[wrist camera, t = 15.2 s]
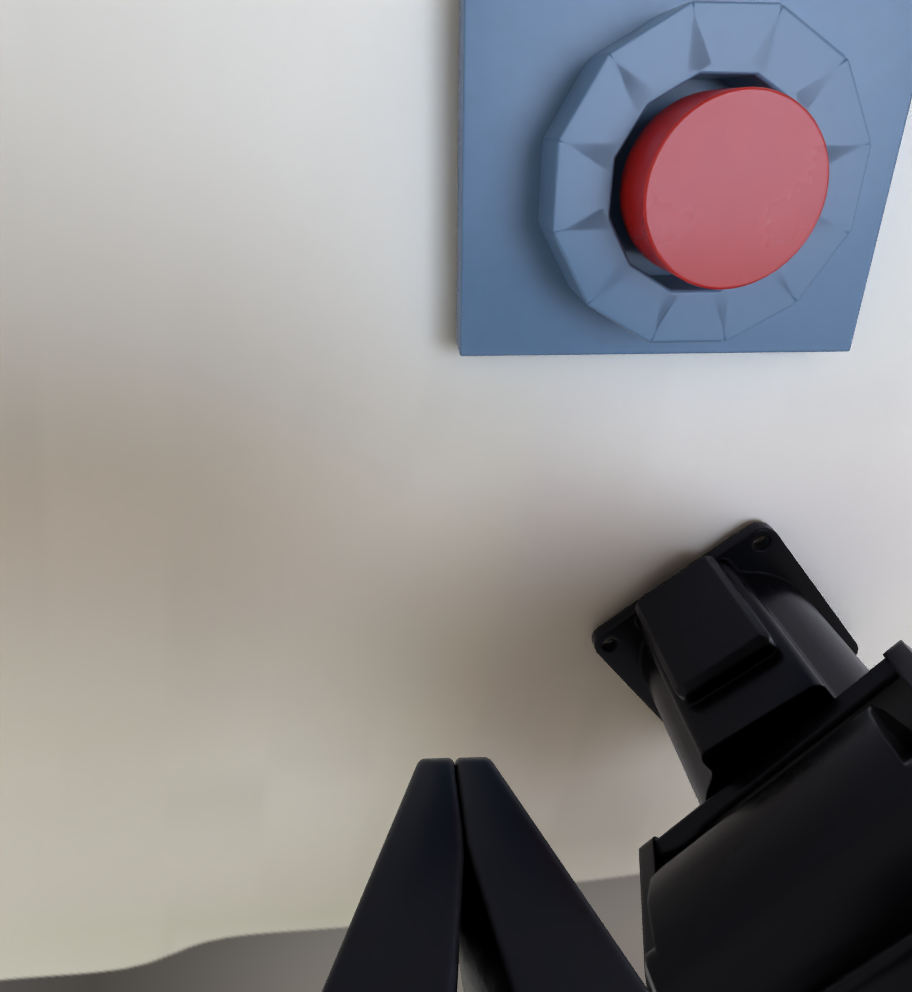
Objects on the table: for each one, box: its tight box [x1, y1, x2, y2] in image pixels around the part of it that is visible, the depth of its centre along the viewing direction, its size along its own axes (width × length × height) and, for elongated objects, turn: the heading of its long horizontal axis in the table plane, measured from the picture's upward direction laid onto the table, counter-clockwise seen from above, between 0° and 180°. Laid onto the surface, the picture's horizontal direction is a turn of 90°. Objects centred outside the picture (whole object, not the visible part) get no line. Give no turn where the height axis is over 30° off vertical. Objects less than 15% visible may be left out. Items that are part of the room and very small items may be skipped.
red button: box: [620, 86, 829, 290], centre depth 15 cm, size 4×4×2 cm
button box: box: [457, 0, 912, 356], centre depth 17 cm, size 10×8×3 cm
